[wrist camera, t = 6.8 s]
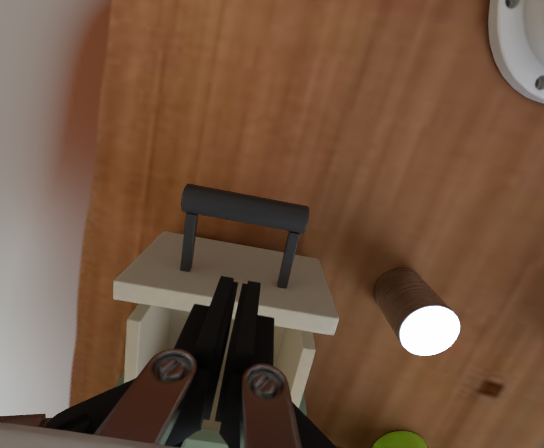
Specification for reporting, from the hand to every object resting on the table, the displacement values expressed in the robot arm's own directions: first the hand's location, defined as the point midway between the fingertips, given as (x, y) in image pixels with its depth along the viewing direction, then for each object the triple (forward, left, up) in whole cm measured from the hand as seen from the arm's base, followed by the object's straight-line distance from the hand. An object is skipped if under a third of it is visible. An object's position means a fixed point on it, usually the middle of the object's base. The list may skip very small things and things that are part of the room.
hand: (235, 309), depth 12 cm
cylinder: (0, +14, -12) cm, 19 cm away
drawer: (+6, +1, -11) cm, 13 cm away
